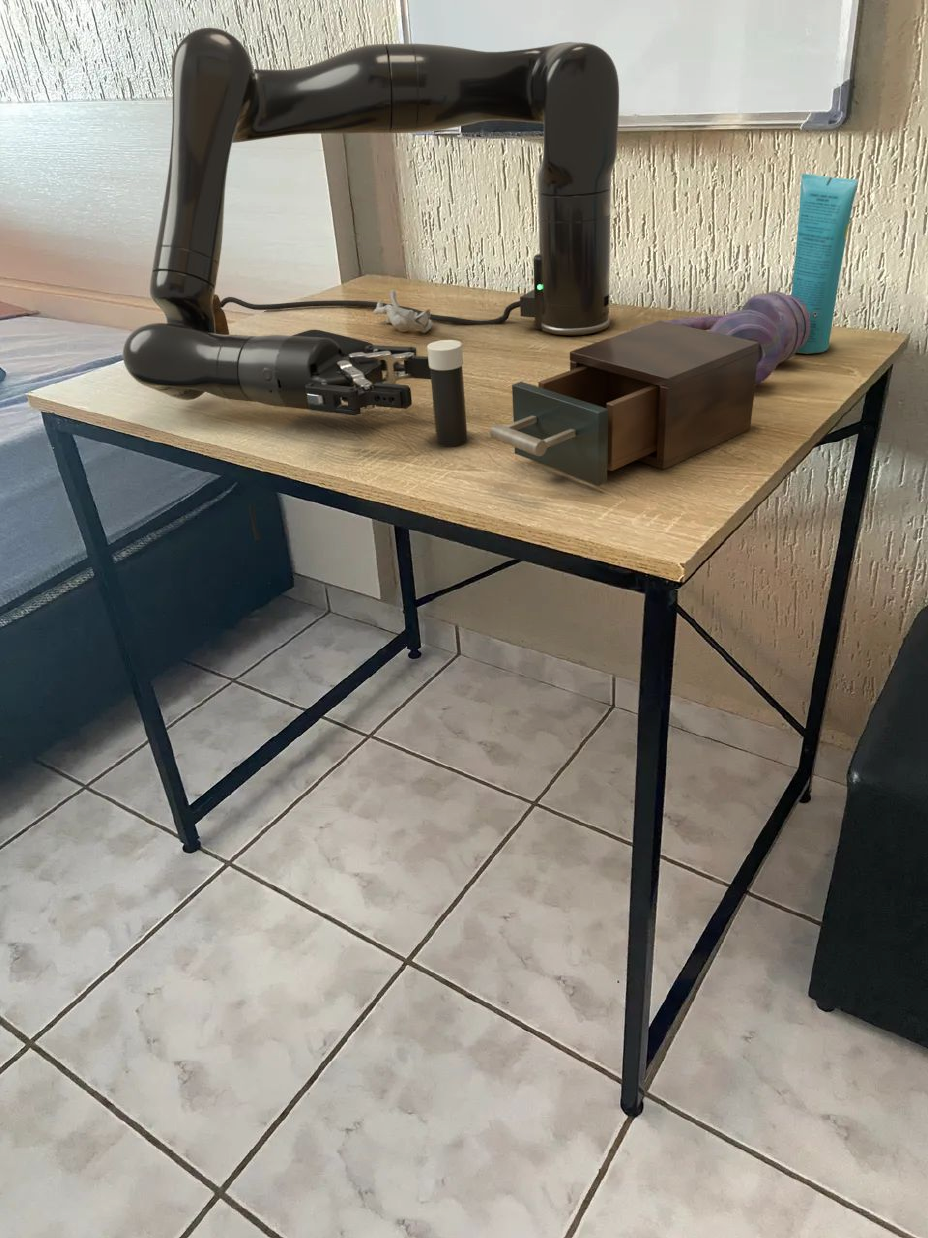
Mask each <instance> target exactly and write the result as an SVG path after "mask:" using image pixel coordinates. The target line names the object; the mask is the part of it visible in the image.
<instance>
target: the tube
mask: <svg viewBox="0 0 928 1238" xmlns="http://www.w3.org/2000/svg"><path fill="white" fill-rule="evenodd" d="M859 181H860V180H859V179H857V178H843V177H832V176H826V175H825V176H824V175H817V174H810V173H802V174H801V179H800V192H799V193H800V194H799V209H798V222H797V232H796V233H797V234H796V246H795V254H794V255H795V256H794V263H793V264H794V265H793V277H792V285H791V287H792V288H791V295H793V296H795V297H797V298H799V299H800V300H801V301H802V302H803V304H804V305H805V307H806V308H807V310H808V313H809V316H810V323H811V327H810V334H809V337H808V340H807V341H806V343H805V344H804V345H803V346H802V347H801V348H799V349H798V351H797V352H796V354H797V353H798V354H805V355H808V354H809V355H810V354H819V353H820V354H821V353H825V352H826V351H827V350H828V349H829V347H830V342H831V341H830V340H831V334H832V327H833V320H834V314H835V307H836V302H837V295H838V289H839V282H840V276H841V270H842V266H843V265H842V264H843V259H844V254H845V247H846V242H847V237H848V233H849V225H850V221H851V215H852V211H853V206H854V201H855V197H856V192H857V187H858V183H859Z"/></svg>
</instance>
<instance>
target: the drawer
mask: <svg viewBox="0 0 928 1238" xmlns="http://www.w3.org/2000/svg"><path fill="white" fill-rule="evenodd" d="M537 384H538V386H537V385H533V384H530V383H528V382H525V381H519V382H516V383H513V384H511V392H512V393H511V395H512V396H511V397H512V416H513V417H512V419H513V421H512V422H511V423H509V424H506V425H503V424H500V423H495V424H493V425H492V426H491V427H490V430H489V436H490V437H491V439H493V440H496V441H498V442H501V443H503V444H506V445H508V446H511V447H513V448H514V454H515V455H518V456H520V457H523V458H524V459H525V458H526V459H528V460H531V461H533V462H535V463H538V464H540V465H543V466H546V467H548V468H550V469H553V470H556V471H558V472H561V473H563V474H566V475H568V476H571V477H574V478H576V479H579V480H581V481H584V482H586V483H589V484H591V485H594V486H596V487H600V486H601V485H604V484H606V483H608V471H610V472H613V471H616V470H617V469H619V468H621V467H624V466H627V465H628V464H631V463H632V462H635V461H638V460H637V459H640V458H642V457H644V456H646V455H648V454H651V453H653V452H655V451H657V441H658V420H659V398H660V386H659V385H655V384H652V383H648V382H644V381H641V380H637V379H634V378H630V377H627V376H623V375H619V374H616V373H612V372H609V371H605V370H602V369H598V368H594V367H591V366H587V365H584V366H581V367H578V368H576V369H573V370H570V369H569V370H567V371H565V372H562V373H559V374H556V375H554V376H551V377H548V378H545V379H542V380H540V381H538V383H537Z"/></svg>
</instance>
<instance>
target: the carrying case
mask: <svg viewBox="0 0 928 1238" xmlns="http://www.w3.org/2000/svg"><path fill="white" fill-rule="evenodd" d="M291 336H302V337H318V338H329V339H331V340H333V341H334V342H336V343H337V344H338V346H339V347H340V349H341V350H342V352H343V353H344V354H345V355H346V356H349V354H351V353H358V352H363V353H365V354H366V351H365V347H366V346H368V345H374V344H373V343H372V342H369V341H366V340H361V339H357V338H354V337H350V336H347V335H342V334H339V333H334V332H330V331H325V330H320V329H307V330H305V331H302V332H299V333H295V334H293V335H291Z"/></svg>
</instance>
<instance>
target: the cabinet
mask: <svg viewBox="0 0 928 1238" xmlns="http://www.w3.org/2000/svg"><path fill="white" fill-rule="evenodd" d="M664 321H665V320H658V321H655V322H652V323H648V324H649V325H647V324H645V325H646V326H643V325H642V326H643V327H640V326H639V327H640V328H637V329H634V328H633V329H634V330H632V329H631V330H629V331H626V332H622V333H620V334H617V335H614V336H611V337H608V338H606V339H602V340H599V341H596V342H594V343H592V344H588V345H585V346H583V347H579V348H576V349H574V350H571V351H569V371H570V370H573V369H576V368H578V367H581V366H584V365H587V366H591V367H594V368H598V369H602V370H605V371H609V372H612V373H616V374H619V375H623V376H627V377H630V378H634V379H637V380H641V381H644V382H648V383H652V384H655V385H659V386H660V398H659V420H658V441H657V451H655V452H653V453H651V454H648V455H646V456H644V457H642V458H640V459H637V460H636V461H638V462H641V463H645V464H647V465H649V466H652V467H655V468H657V469H660V470H666V469H668V468H671V467H673V466H674V465H677V464H679V463H681V462H683V461H685V460H687V459H689V458H691V457H694V456H696V455H698V454H700V453H702V452H705V451H707V450H709V449H710V448H712V447H714V446H717V445H720V444H721V443H724V442H726V441H727V440H730V439H732V438H734V437H737V436H738V435H741V434H742V433H745V432H747V431H749V430H750V429H751V426H752V416H753V408H754V399H755V389H756V385H755V380H756V370H757V360H758V351H759V342H755V341H751V340H746V339H742V338H737V337H732V336H728V335H723V334H719V333H714V332H710V330H701V329H696V328H692V327H687V326H682V325H678V324H673V323H669V322H664Z"/></svg>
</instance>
